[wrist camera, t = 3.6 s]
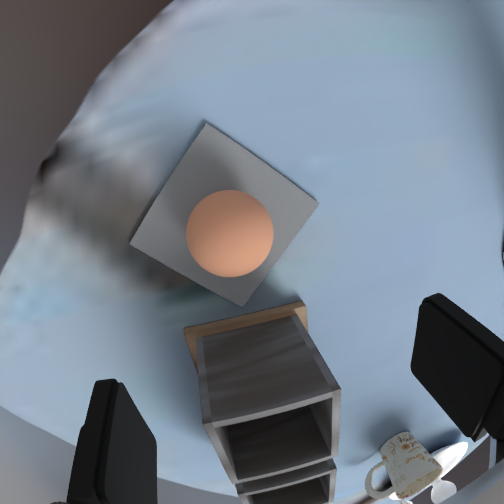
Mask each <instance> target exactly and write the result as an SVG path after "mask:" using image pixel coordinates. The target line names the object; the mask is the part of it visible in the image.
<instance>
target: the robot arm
mask: <svg viewBox="0 0 504 504" xmlns="http://www.w3.org/2000/svg"><path fill="white" fill-rule="evenodd" d="M503 259H504V254H503ZM411 371H412V373H413V375H414V376H415V377H416V378H417V379H418V380H419V382H420V383H421V384H422V385H423V386H424V387H425V389H426V390H427V391H428V392H429V393H430V394H431V396H432V397H433V398H434V399H435V400H436V402H437V403H438V404H439V405H440V406H441V407H442V409H443V410H444V411H445V412H446V413H447V415H448V416H449V417H450V418H451V419H452V421H453V422H454V423H455V424H456V425H457V427H458V428H459V429H460V430H461V432H462V433H463V434H464V435H465V436H466V437H471V439H472V440H473V441H474V442H476V441H477V440H479V439H480V438H482V437H483V436H485V435H486V433H487V432H488V433H489V434H490V436H491V447H490V462H489V470H488V471H487V472H486V473H484V474H483V475H482V476H480V477H479V478H477V479H476V480H474V481H473V482H472V483H470V484H469V485H467V486H466V487H464V488H463V489H462V490H460V491H458V492H457V493H455V494H454V495H452V496H450V497H449V498H447V499H446V500H444V501H442V502H441V503H439V504H504V341H502V340H501V339H500V338H499V337H498V336H496V335H495V334H494V333H492V332H491V331H490V330H489V329H487V328H486V327H485V326H484V325H482V324H481V323H480V322H478V321H477V320H476V319H475V318H473V317H472V316H471V315H469V314H468V313H467V312H465V311H464V310H463V309H461V308H460V307H459V306H457V305H456V304H455V303H453V302H452V301H451V300H449V299H448V298H447V297H445V296H444V295H443V294H441V293H437V294H434V295H431V296H429V297H426V298H424V299H423V301H422V304H421V305H420V307H419V314H418V321H417V329H416V336H415V342H414V348H413V354H412V360H411ZM51 504H157V444H156V440H155V437H154V435H153V434H152V432H151V430H150V429H149V427H148V426H147V424H146V422H145V421H144V419H143V417H142V416H141V414H140V412H139V411H138V409H137V407H136V406H135V404H134V402H133V400H132V399H131V397H130V395H129V393H128V391H127V390H126V388H125V386H124V384H123V383H121V382H120V383H118V382H117V380H116V379H106V380H98V381H96V382H95V384H94V388H93V392H92V396H91V400H90V404H89V408H88V412H87V416H86V420H85V424H84V425H83V426H82V427H81V430H80V433H79V437H78V442H77V447H76V451H75V456H74V461H73V466H72V471H71V477H70V483H69V489H68V495H67V501H66V502H61V501H60V502H53V503H51Z"/></svg>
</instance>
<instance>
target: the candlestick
mask: <svg viewBox="0 0 504 504" xmlns="http://www.w3.org/2000/svg"><path fill="white" fill-rule="evenodd" d="M467 448H468V443H467V442H459V443H456V444H453V445H449V446H446V447H443V448H440V449H438V450H437V451H434V452H433V453H431V456H432V457H433V458H434V459H435V460H436V461H437V462H438V463H439V464H440V465H441V466H442V467H443V471H442V473H441V474H440V476H439V477H438V478H437V479H436V480H435V481H434V482H432V483H431V484H430V485H432V486H433V489H432V492H431V499H432V501H433V502H434V503H435V504H439V503H441V502H442V501H444V500H446V499H447V498H449V497H450V496H452V495H454V494H455V493H456V487H455V485H454V484H453V483H451V482H449V481H442V480H441V479H440V478H441V477H442V476H443V475H445V474H446V473H447V472H448V471H449V470H450V469H452V468H453V467H454V466H455V465H456V464H457V462H458V461H459V460H460V459H461V458H462V456H463V455H464V454H465V452H466V450H467ZM430 485H429V486H430ZM427 487H428V486H427ZM424 489H425V488H424ZM389 498H390V499H392V500H398V499H399V498H398V497H397V496H396V493H395V492H394V493H393V494H391V495H390V496H389ZM399 503H400V504H412V502H410V501H404V500H403V499H399Z"/></svg>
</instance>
